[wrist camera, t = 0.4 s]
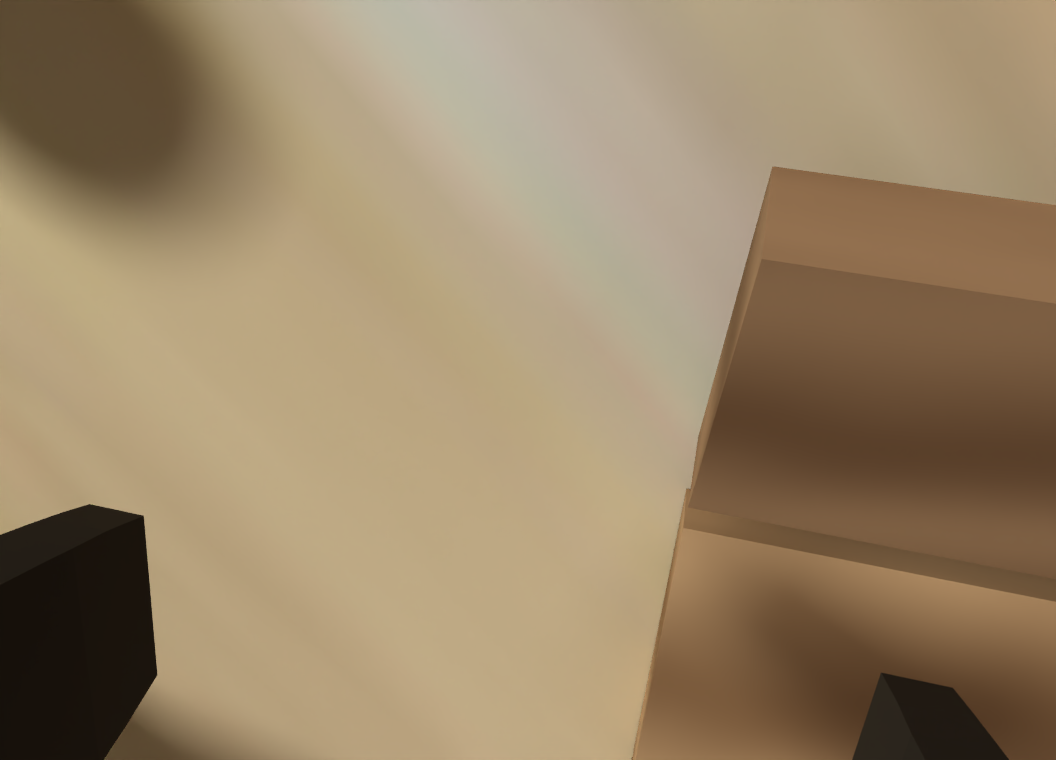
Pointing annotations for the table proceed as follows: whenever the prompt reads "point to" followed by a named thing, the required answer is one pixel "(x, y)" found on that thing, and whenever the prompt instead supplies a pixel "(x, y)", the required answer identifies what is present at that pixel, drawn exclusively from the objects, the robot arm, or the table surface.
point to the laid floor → (835, 643)
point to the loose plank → (891, 372)
